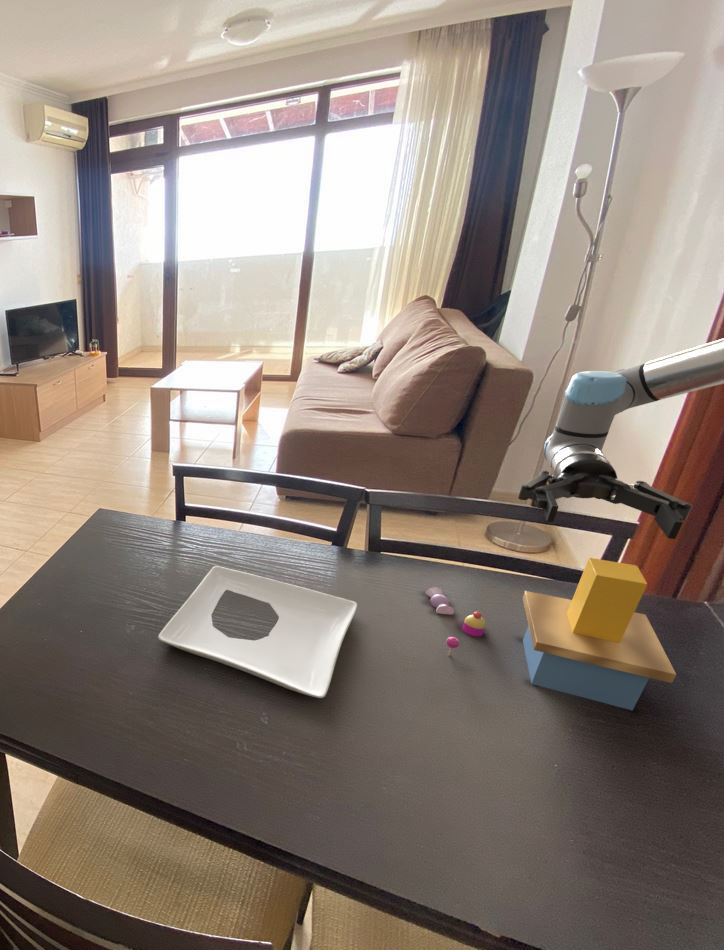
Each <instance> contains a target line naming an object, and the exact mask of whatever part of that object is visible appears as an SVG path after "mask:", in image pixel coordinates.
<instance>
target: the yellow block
mask: <svg viewBox="0 0 724 950" xmlns="http://www.w3.org/2000/svg"><path fill="white" fill-rule="evenodd" d="M647 587H648V582H647V580H646V579H645V577H644V575H643V573H642V572H641V570H640V568H639V567H638V565H636V564H629V563H623V562H618V561H611V560H605V559H599V558H594V557H588V559H587V561H586V563H585V567H584V569H583V572H582V574H581V577H580V579H579V582H578V584H577V586H576V589H575V592H574V594H573V595H572V596H573V597H572V599H571V600H572V601H571V604H570V606H569V609H568V611H567V616H568V620H569V623H570V626H571V629H572V632H573V633H576V634H581V635H585V636H590V637H594V638H599V639H603V640H608V641H613V642H617V643H620V642H621V639H622V637H623V635H624V633H625V631H626V629H627V627H628V624H629V622H630V620H631V618H632V616H633V614H634V612H635V613H636V610H637V608H638V605H639V603H640V601H641V599H642V596H643V594H644V593H645V591H646V588H647Z"/></svg>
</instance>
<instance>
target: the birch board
mask: <svg viewBox="0 0 724 950" xmlns="http://www.w3.org/2000/svg"><path fill="white" fill-rule="evenodd" d="M571 601H572V599H568V598H563V597H558V596H553V595H548V594H543V593H538V592H533V591H529V590H524V593H523V595H522V602H523V606H524V611H525V615H526V620H527V624H528V625H529V630H530V634H531V639H532V644H533V648H534V650H535V651H540V652H544V653H548V654H552V655H556V656H561V657H565V658H569V659H573V660H577V661H581V662H586V663H590V664H594V665H598V666H602V667H606V668H611V669H615V670H619V671H623V672H627V673H632V674H636V675H640V676H644V677H648V678H649V679H653V680H657V681H660V682H666V683H669V684H672V683H673V682H674V680H675V679H676V677H677V672H676V671H675V669H674V667H673V665H672V663H671V661H670V659H669V657H668V655H667V654H666V652H665V650H664V648H663V645H662V644H661V642H660V640H659V638H658V635H657V634H656V632H655V629H654V628H653V625H651V622H650V620H649V619H648V616H647V615H646V614H644V613H639V612H636V611H635V612H634V614H633V616H632V618H631V620H630V622H629V624H628V627H627V629H626V631H625V633H624V635H623V637H622V639H621V642H620V643H617V642H613V641H608V640H603V639H599V638H594V637H590V636H585V635H581V634H576V633H573V632H572V629H571V626H570V623H569V620H568V616H567V611H568V609H569V606H570V604H571ZM528 625H527V626H528Z"/></svg>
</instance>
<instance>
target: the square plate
mask: <svg viewBox="0 0 724 950" xmlns="http://www.w3.org/2000/svg"><path fill="white" fill-rule="evenodd" d="M225 591H230V592H233V593H236V594H239V595H242V596H246V597H249V598H251V599H254V600H258V601H260V602H263V603H267V604H269V605H270V606H271V608H272V610H273V611H274V612H275V614H276V615H277V616H278V619H277V622H276V624H275V625H274V626H273V628H271V630H270V632H269V633H268V635H267V636H264V637H261V638H259V639H255V640H254V639H244V638H237V637H229V636H227V635H226V634H225V633H223V632H222V631H220V630H219V629H218V628H216V627H215V626H214V625H213V623H214V622H213V618H212V616H213V615H212V614H213V613H214V610H215V609H216V607H217V604H218V603H219V601H220V599H221V597H222V596H223V595H224V593H225ZM357 609H358V603H357V602H356V601H354V600H350V599H347V598H343V597H339V596H336V595H333V594H328V593H325V592H321V591H318V590H316V589H315V590H314V589H310V588H307V587H304V586H299V585H295V584H292V583H288V582H283V581H280V580H276V579H272V578H269V577H265V576H260V575H257V574H254V573H249V572H245V571H241V570H236V569H233V568H228V567H223V566H220V565H214V566H213V567H211V568H210V570H209V571H208V572H207V574H206V575H205V576H204V578H203V579H202V580H201V581H200V583H199V584H198V586H197V587H196V588H195V589H194V591H193V592H192V593H191V594H190V596H189V597H187V599H186V600H185V602H184V603H183V604H182V605H181V607H180V608H179V609H178V610H177V612H175V613H174V615H173V616H172V617H171V619H170V620H168V622H167V623H166V624H165V626H164V627H163V628H162V630H161V631H160V632H159V634H158V636H157V638H158V640H159V641H160V642H162V643H166V644H168V645H170V646H171V647H173V648H176V649H178V650H181V651H183V652H184V651H185V652H187V653H190V654H193V655H196V656H199V657H203V658H206V659H207V660H212V661H215V662H217V663H221V664H223V665H226V666H229V667H231V668H234V669H237V670H239V671H242V672H245V673H248V674H250V675H253V676H256V677H257V678H260V679H263V680H265V681H268V682H270V683H272V684H275V685H278V686H280V687H282V688H285V689H287V690H290V691H293V692H297V693H299V694H301V695H305V696H309V697H312V698H318V699H323V698H325V697H326V695H327V694H328V691H329V688H330V685H331V681H332V678H333V674H334V670H335V667H336V664H337V660H338V657H339V653H340V650H341V647H342V644H343V641H344V639H345V637H346V633H347V632H348V629H349V627H350V625H351V623H352V621H353V618H354V616H355V614H356V611H357Z"/></svg>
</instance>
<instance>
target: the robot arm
mask: <svg viewBox="0 0 724 950" xmlns="http://www.w3.org/2000/svg"><path fill="white" fill-rule="evenodd" d="M719 385H724V338H721V339H718V340H715V341H711V342H708V343H704V344H702V345H698V346H696V347H695V346H694V347H693V348H689V349H685V350H682V351H679V352H675V353H673V354H670V355H667V356H663V357H660V358H657V359H654V360H649V361H647V362H645V363H642V364H638V365H635V366H632V367H628V368H622V369H617V370H615V371H606V370H605V371H604V370H587V371H579V372H577V373H575V374H574V375H573V376H572V377H571V378H570V382H569V384H568V387H566V389H565V391H564V398H563V401H562V405H561V408H560V411H559V415H558V417H557V421H556V424H555V426H554V429H553V432H552V434H550V436H549V437H547V439H546V440H545V442H544V445H543V454H544V458H545V460H546V462H547V463H548V465H549V467H550V470H551V471H552V473H553V474H552V473H550V472H549V471H548V470H540V471H539V474H538V475H537V476H535V477H533V478H532V479H530V480H528V481H527V482H525V483H523V484H522V485H521V488H520V489H519V490H520V491H519V493H518V500H519V501H527V500H531V503H530V506H531V507H532V508H536V509H541V510H542V512H543V515H544V517H545V520H546V522H548V523H549V522H550V523H554V521H555V519H556V515H557V513H558V510H559V505H558V502H557V499H561V498H565V499H570V498H577V499H593V498H594V499H596V500H603V501H606V502H609V503H611V504H614V505H620V504H622V505H624V506H627V507H629V508H632V509H635V510H638V511H640V512H643V513H646V514H648V515H651V516H653V517H654V522H655V523H656V524H657V525H658V527H659V528H660V529H661V531H662V532H663V533H664V535H665V536H666V538H667V539H672V540H676V538H677V536H678V534H679V532H680V530H681V527H682V525H683V521H686V520H688V517H689V514H690V512H691V510H692V509H693V505H692V504H691V503H689V502H687V501H684V500H682V499H680V498H678V497H675V496H673V495H671V494H668V493H667V492H665V491H662V490H660V489H657V488H655V487H653V486H651V485H650V484H649V483H647V482H646V481H644V480H636V481H635V483H634V484H629V483H625V482H624V481H622V480H620V479H618V475H617V472H616V470H615V468H614V467H613V465H612V464H611V462H610V461H609V459H608V458H607V457H606V456H605V455H606V454H604V452H603V448H604V446H605V442H606V440H607V438H608V434H609V433H610V432H609V431H610V429H611V426H612V423H613V420H614V418H615V416H616V415H618V414H620V413H623V412H624V411H627V410H628V409H632V408H636V407H640V406H644V405H646V404H647V405H648V404H651V403H655V402H658V401H662V400H665V399H669V398H672V397H676V396H681V395H684V394H689V393H692V392H695V391H699V390H704V389H708V388H711V387H716V386H719Z"/></svg>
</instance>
